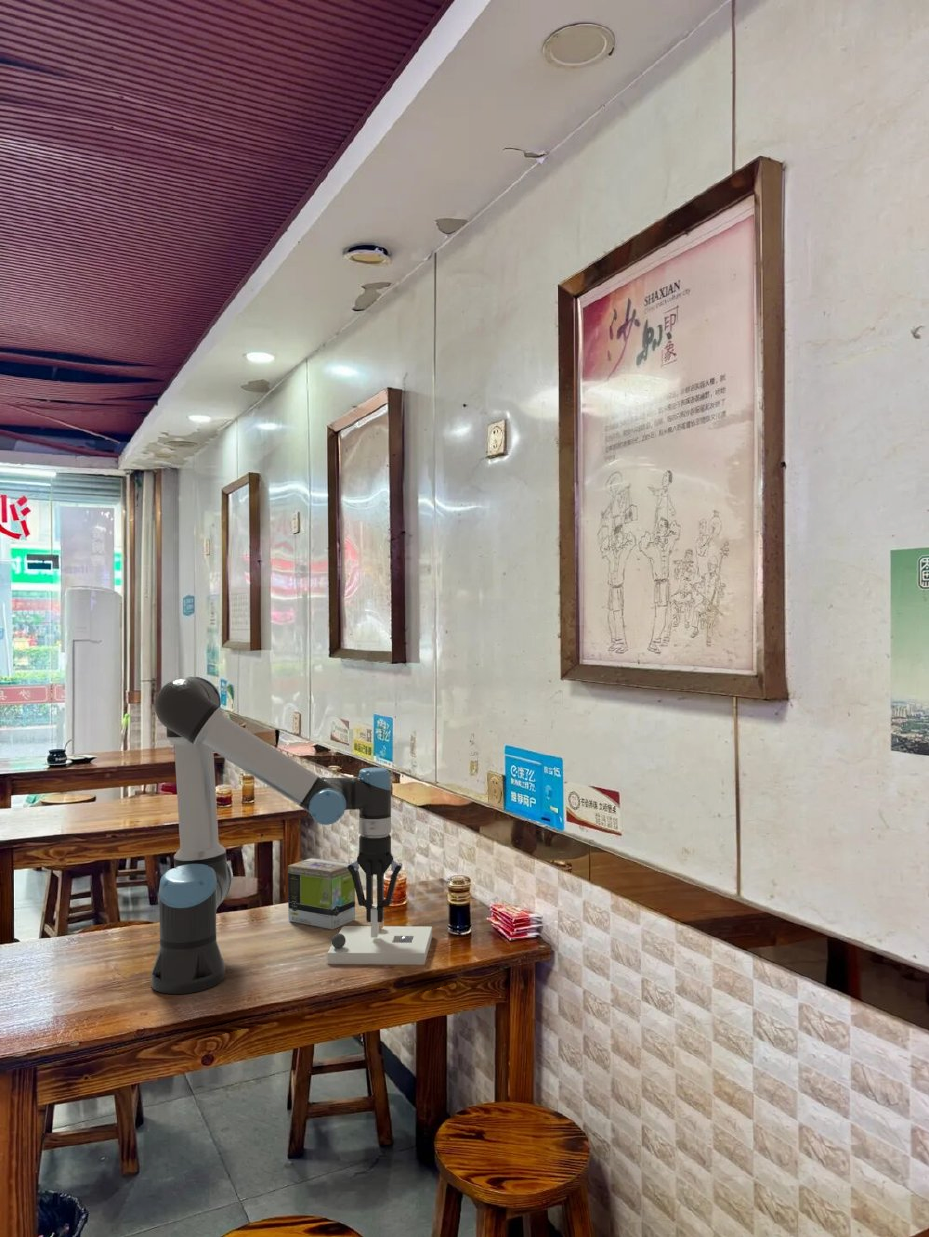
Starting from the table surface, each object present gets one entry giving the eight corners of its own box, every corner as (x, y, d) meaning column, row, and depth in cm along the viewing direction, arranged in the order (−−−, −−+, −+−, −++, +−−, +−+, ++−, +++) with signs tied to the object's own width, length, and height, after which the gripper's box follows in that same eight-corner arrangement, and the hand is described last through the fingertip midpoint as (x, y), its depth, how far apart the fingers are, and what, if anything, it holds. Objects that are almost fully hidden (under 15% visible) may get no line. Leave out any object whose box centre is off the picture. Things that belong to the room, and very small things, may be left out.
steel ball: (398, 938, 201) (411, 938, 200) (400, 933, 204) (413, 933, 204) (398, 952, 200) (411, 952, 200) (399, 947, 204) (413, 947, 203)
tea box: (356, 919, 225) (356, 862, 225) (331, 931, 216) (331, 871, 216) (312, 911, 232) (311, 855, 233) (286, 921, 224) (286, 864, 224)
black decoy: (330, 950, 195) (330, 936, 195) (333, 945, 198) (333, 931, 199) (344, 950, 195) (344, 936, 195) (346, 945, 198) (346, 931, 198)
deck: (327, 963, 194) (327, 952, 194) (343, 936, 212) (343, 926, 212) (424, 964, 193) (424, 953, 193) (432, 936, 211) (432, 926, 211)
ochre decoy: (370, 931, 207) (369, 918, 207) (372, 927, 211) (372, 914, 211) (383, 931, 207) (383, 918, 207) (385, 927, 210) (385, 914, 210)
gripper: (344, 837, 200) (344, 940, 199) (400, 838, 199) (400, 941, 198) (350, 830, 207) (350, 929, 206) (404, 831, 206) (404, 930, 206)
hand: (374, 935), depth 202 cm, fingers closed
